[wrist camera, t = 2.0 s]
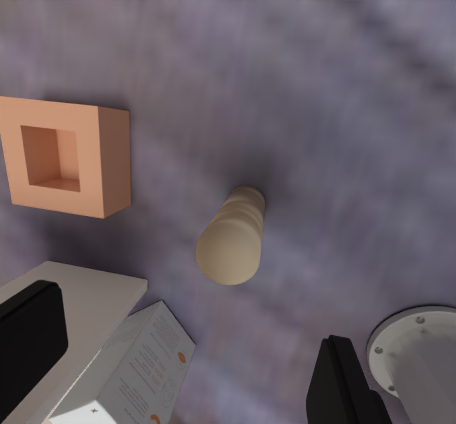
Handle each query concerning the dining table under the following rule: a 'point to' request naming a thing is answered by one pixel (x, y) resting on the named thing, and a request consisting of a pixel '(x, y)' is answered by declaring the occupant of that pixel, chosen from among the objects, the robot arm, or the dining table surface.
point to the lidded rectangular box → (75, 326)
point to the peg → (233, 238)
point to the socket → (66, 156)
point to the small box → (132, 374)
